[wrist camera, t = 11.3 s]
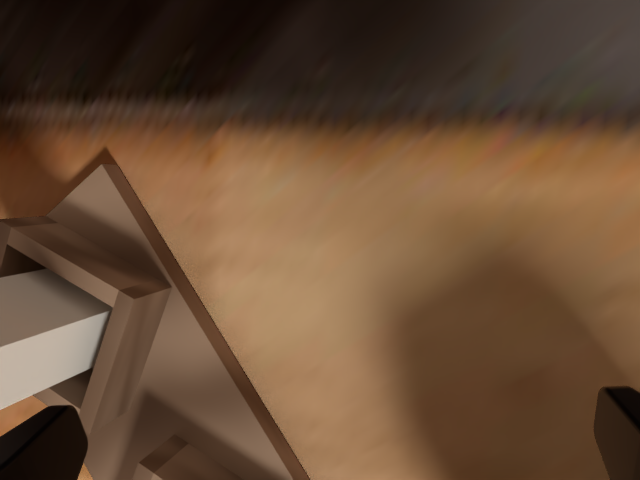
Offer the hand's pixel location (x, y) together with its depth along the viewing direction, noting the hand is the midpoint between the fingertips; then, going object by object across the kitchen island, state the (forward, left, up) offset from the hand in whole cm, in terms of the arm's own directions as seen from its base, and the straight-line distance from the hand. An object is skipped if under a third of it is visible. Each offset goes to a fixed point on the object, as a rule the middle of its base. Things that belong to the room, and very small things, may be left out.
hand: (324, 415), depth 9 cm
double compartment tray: (+1, +14, -12) cm, 18 cm away
